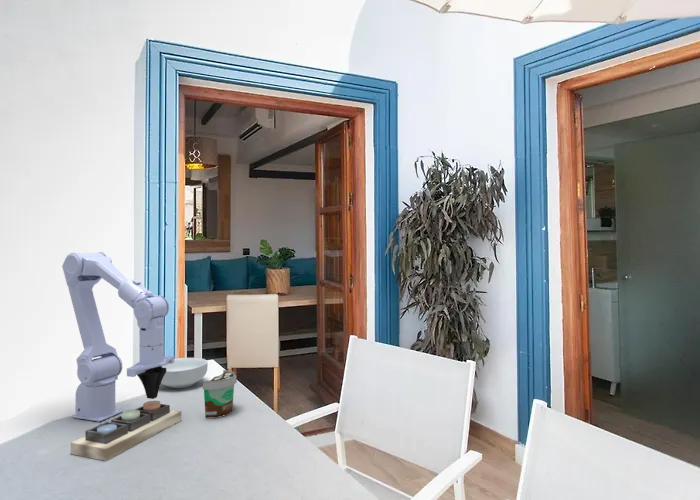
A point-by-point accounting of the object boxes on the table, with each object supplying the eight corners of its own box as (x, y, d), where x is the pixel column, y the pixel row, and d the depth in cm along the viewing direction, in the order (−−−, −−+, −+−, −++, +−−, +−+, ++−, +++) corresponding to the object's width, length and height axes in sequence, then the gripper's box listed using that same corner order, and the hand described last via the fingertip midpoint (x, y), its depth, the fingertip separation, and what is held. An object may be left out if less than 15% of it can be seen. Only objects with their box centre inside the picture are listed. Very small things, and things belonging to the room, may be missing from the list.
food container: (224, 421, 121) (224, 383, 121) (202, 419, 123) (202, 381, 123) (244, 405, 134) (244, 370, 133) (224, 404, 135) (224, 369, 135)
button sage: (117, 422, 111) (117, 414, 111) (130, 416, 115) (130, 408, 115) (131, 424, 110) (131, 416, 110) (143, 418, 113) (143, 410, 113)
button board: (70, 453, 102) (70, 433, 102) (150, 416, 125) (150, 399, 125) (106, 460, 99) (106, 439, 99) (181, 420, 122) (181, 403, 122)
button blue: (92, 437, 104) (92, 429, 104) (107, 431, 108) (107, 423, 108) (106, 440, 103) (106, 432, 103) (120, 433, 107) (120, 425, 107)
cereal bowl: (170, 376, 163) (170, 356, 163) (215, 378, 160) (215, 358, 160) (142, 391, 146) (142, 369, 146) (192, 394, 144) (192, 371, 144)
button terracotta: (139, 412, 117) (139, 404, 117) (151, 406, 121) (151, 399, 121) (152, 413, 116) (152, 406, 116) (163, 408, 120) (163, 401, 120)
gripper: (143, 351, 110) (143, 408, 110) (183, 339, 124) (183, 390, 124) (119, 349, 113) (120, 405, 113) (162, 338, 126) (162, 388, 126)
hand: (152, 397), depth 119 cm, fingers closed
